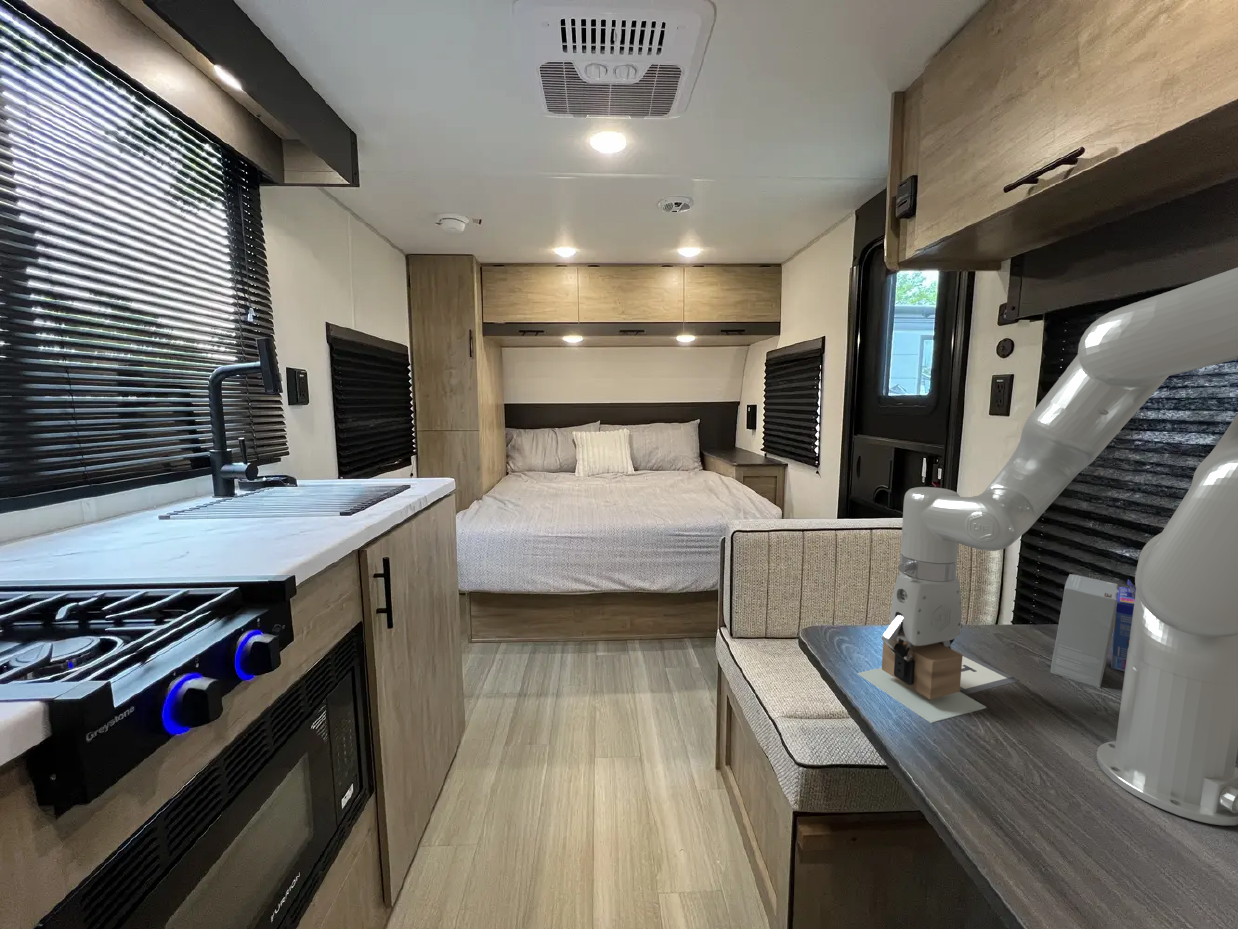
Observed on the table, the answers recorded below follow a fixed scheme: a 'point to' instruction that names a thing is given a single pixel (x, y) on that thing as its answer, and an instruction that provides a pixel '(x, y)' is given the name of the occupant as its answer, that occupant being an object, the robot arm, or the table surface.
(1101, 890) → the table surface
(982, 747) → the table surface
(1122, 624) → the ink cartridge box
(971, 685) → the grey framed panel
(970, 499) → the robot arm
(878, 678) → the sage mat
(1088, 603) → the skincare box
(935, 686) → the walnut block
